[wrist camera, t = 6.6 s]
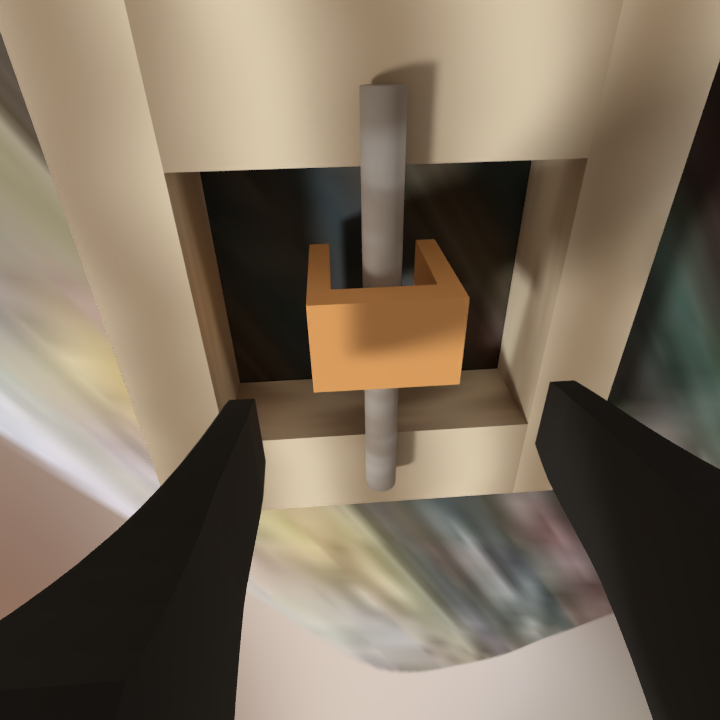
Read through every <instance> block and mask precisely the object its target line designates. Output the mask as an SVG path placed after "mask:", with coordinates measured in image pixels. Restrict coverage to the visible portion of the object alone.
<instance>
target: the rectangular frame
mask: <svg viewBox="0 0 720 720" xmlns="http://www.w3.org/2000/svg"><path fill="white" fill-rule="evenodd" d="M0 32H1V35H2V37H3V40H4V43H5V46H6V49H7V52H8V54H9V57H10V60H11V63H12V66H13V69H14V71H15V74H16V77H17V80H18V83H19V86H20V88H21V91H22V94H23V97H24V100H25V103H26V105H27V108H28V111H29V114H30V117H31V120H32V122H33V125H34V128H35V131H36V134H37V137H38V139H39V142H40V145H41V148H42V151H43V154H44V157H45V159H46V162H47V165H48V168H49V171H50V174H51V176H52V179H53V182H54V185H55V188H56V191H57V193H58V196H59V199H60V202H61V205H62V208H63V210H64V213H65V216H66V219H67V222H68V225H69V227H70V230H71V233H72V236H73V239H74V242H75V244H76V247H77V250H78V253H79V256H80V259H81V261H82V264H83V267H84V270H85V273H86V276H87V278H88V281H89V284H90V287H91V290H92V293H93V295H94V298H95V301H96V304H97V307H98V310H99V312H100V315H101V318H102V321H103V324H104V327H105V329H106V332H107V335H108V338H109V341H110V344H111V346H112V349H113V352H114V355H115V358H116V361H117V363H118V366H119V369H120V372H121V375H122V378H123V380H124V383H125V386H126V389H127V392H128V395H129V397H130V400H131V403H132V406H133V409H134V412H135V414H136V417H137V420H138V423H139V426H140V429H141V432H142V434H143V437H144V440H145V443H146V446H147V449H148V451H149V454H150V457H151V460H152V463H153V466H154V468H155V471H156V474H157V477H158V480H159V483H160V485H162V484H163V483H164V482H165V481H166V480H167V478H168V477H169V476H170V475H171V474H172V473H173V472H174V471H175V469H176V468H177V467H178V466H179V465H180V464H181V462H182V461H183V460H184V459H185V457H186V456H187V455H188V454H189V452H190V451H191V450H192V448H193V447H194V446H195V445H196V443H197V442H198V441H199V440H200V438H201V437H202V436H203V434H204V433H205V432H206V430H207V429H208V428H209V426H210V425H211V423H212V422H213V421H214V419H215V418H216V416H217V415H218V414H219V412H220V411H221V409H222V408H223V407H224V405H225V404H226V403H227V402H228V401H229V400H237V399H255V402H256V407H257V413H258V419H259V425H260V430H261V436H262V442H263V448H264V453H265V459H266V466H265V482H264V496H263V503H262V509H261V510H270V509H285V508H299V507H314V506H328V505H342V504H357V503H371V502H386V501H400V500H414V499H429V498H443V497H458V496H472V495H486V494H501V493H515V492H529V491H544V490H553V489H552V487H551V485H550V483H549V481H548V478H547V476H546V473H545V471H544V468H543V466H542V463H541V460H540V457H539V454H538V451H537V448H536V446H535V441H536V437H537V433H538V429H539V425H540V421H541V416H542V412H543V408H544V404H545V400H546V396H547V392H548V388H549V383H550V382H554V381H571V380H574V381H576V382H578V383H580V384H582V385H583V386H585V387H586V388H588V389H590V390H591V391H593V392H594V393H596V394H597V395H599V396H601V397H602V398H604V399H605V400H608V397H609V394H610V390H611V387H612V384H613V381H614V378H615V375H616V372H617V369H618V366H619V363H620V360H621V357H622V354H623V351H624V348H625V345H626V342H627V339H628V336H629V333H630V330H631V327H632V324H633V321H634V318H635V315H636V312H637V309H638V306H639V303H640V300H641V297H642V294H643V291H644V288H645V285H646V282H647V279H648V275H649V272H650V269H651V266H652V263H653V260H654V257H655V254H656V251H657V248H658V245H659V242H660V239H661V236H662V233H663V230H664V227H665V224H666V221H667V218H668V215H669V212H670V209H671V206H672V203H673V200H674V197H675V194H676V191H677V188H678V185H679V182H680V179H681V176H682V173H683V170H684V167H685V164H686V160H687V157H688V154H689V151H690V148H691V145H692V142H693V139H694V136H695V133H696V130H697V127H698V124H699V121H700V118H701V115H702V112H703V109H704V106H705V103H706V100H707V97H708V94H709V91H710V88H711V85H712V82H713V79H714V76H715V73H716V70H717V67H718V64H719V61H720V0H0ZM521 160H532V161H531V167H530V173H529V179H528V186H527V192H526V198H525V204H524V210H523V216H522V222H521V228H520V234H519V240H518V246H517V252H516V258H515V264H514V270H513V276H512V282H511V288H510V294H509V300H508V307H507V313H506V319H505V325H504V331H503V337H502V343H501V349H500V355H499V361H498V367H497V369H481V370H463V371H461V377H460V384H457V385H439V386H421V387H404V388H386V389H368V390H351V391H333V392H315V393H314V390H313V379H303V380H286V381H268V382H250V383H240V380H239V375H238V370H237V364H236V359H235V354H234V349H233V343H232V338H231V333H230V328H229V322H228V317H227V312H226V307H225V302H224V296H223V291H222V286H221V281H220V275H219V270H218V265H217V260H216V254H215V249H214V244H213V239H212V233H211V228H210V223H209V218H208V213H207V207H206V202H205V197H204V192H203V186H202V181H201V176H200V172H204V171H233V170H262V169H290V168H319V167H348V166H361V213H362V271H363V288H375V287H396V286H402V254H403V221H404V188H405V165H406V164H434V163H463V162H492V161H521Z"/></svg>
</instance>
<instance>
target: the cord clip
mask: <svg viewBox="0 0 720 720" xmlns="http://www.w3.org/2000/svg"><path fill="white" fill-rule="evenodd" d="M469 299H470V298H469V296H468V294H467V293H466V291H465V289H464V288H463V286H462V284H461V283H460V281H459V279H458V278H457V276H456V274H455V273H454V271H453V269H452V268H451V266H450V264H449V263H448V261H447V259H446V258H445V256H444V254H443V252H442V251H441V249H440V247H439V246H438V244H437V242H436V241H435V239H426V240H416V245H415V267H414V286H396V287H375V288H353V289H332V290H331V274H330V257H329V244H310V245H309V262H308V279H307V296H306V312H307V324H308V335H309V346H310V357H311V368H312V379H313V390H314V393H315V392H333V391H351V390H368V389H386V388H404V387H421V386H439V385H457V384H460V377H461V369H462V360H463V351H464V343H465V334H466V325H467V317H468V308H469Z"/></svg>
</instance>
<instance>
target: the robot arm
mask: <svg viewBox="0 0 720 720" xmlns="http://www.w3.org/2000/svg"><path fill="white" fill-rule="evenodd" d="M535 446H536V448H537V451H538V454H539V457H540V460H541V463H542V466H543V468H544V471H545V473H546V476H547V478H548V481H549V483H550V485H551V487H552V489H553V491H554V492H555V494H556V496H557V498H558V500H559V502H560V504H561V506H562V508H563V510H564V511H565V513H566V515H567V517H568V519H569V521H570V523H571V524H572V526H573V528H574V530H575V532H576V534H577V536H578V537H579V539H580V541H581V543H582V545H583V547H584V549H585V550H586V552H587V554H588V556H589V558H590V560H591V562H592V564H593V566H594V568H595V570H596V572H597V574H598V576H599V578H600V580H601V583H602V585H603V588H604V590H605V593H606V595H607V597H608V600H609V602H610V605H611V607H612V609H613V612H614V614H615V617H616V619H617V622H618V624H619V627H620V630H621V632H622V635H623V637H624V640H625V643H626V645H627V648H628V650H629V653H630V655H631V658H632V661H633V664H634V666H635V669H636V672H637V675H638V678H639V681H640V684H641V686H642V689H643V692H644V695H645V697H646V701H647V703H648V706H649V709H650V712H651V715H652V718H653V720H720V469H718V468H716V467H714V466H713V465H711V464H709V463H707V462H705V461H703V460H702V459H700V458H698V457H696V456H695V455H693V454H691V453H689V452H688V451H686V450H684V449H683V448H681V447H679V446H677V445H676V444H674V443H672V442H671V441H669V440H667V439H666V438H664V437H662V436H661V435H659V434H658V433H656V432H654V431H653V430H651V429H650V428H648V427H646V426H645V425H643V424H642V423H640V422H639V421H637V420H636V419H634V418H632V417H631V416H629V415H628V414H626V413H625V412H623V411H622V410H620V409H619V408H617V407H616V406H614V405H613V404H611V403H610V402H608V401H607V400H605V399H604V398H602V397H601V396H599V395H597V394H596V393H594V392H593V391H591V390H590V389H588V388H586V387H585V386H583V385H582V384H580V383H578V382H576V381H574V380H571V381H554V382H550V383H549V388H548V392H547V396H546V400H545V404H544V408H543V412H542V416H541V421H540V425H539V429H538V433H537V437H536V441H535ZM265 466H266V459H265V453H264V448H263V442H262V436H261V430H260V425H259V419H258V413H257V407H256V402H255V399H237V400H229V401H228V402H227V403H226V404H225V405H224V407H223V408H222V409H221V411H220V412H219V414H218V415H217V416H216V418H215V419H214V421H213V422H212V423H211V425H210V426H209V428H208V429H207V430H206V432H205V433H204V434H203V436H202V437H201V438H200V440H199V441H198V442H197V443H196V445H195V446H194V447H193V448H192V450H191V451H190V452H189V454H188V455H187V456H186V457H185V459H184V460H183V461H182V462H181V464H180V465H179V466H178V467H177V468H176V469H175V471H174V472H173V473H172V474H171V475H170V476H169V477H168V478H167V480H166V481H165V482H164V483H163V484H162V485H161V486H160V488H159V489H158V490H157V491H156V492H155V493H154V494H153V495H152V496H151V497H150V498H149V499H148V500H147V501H146V503H145V504H144V505H143V506H142V507H141V508H140V509H139V510H138V511H137V512H136V513H135V514H134V515H133V516H131V517H130V518H129V519H128V520H127V521H126V522H125V523H124V524H123V525H122V526H121V527H120V528H119V529H118V530H117V531H116V532H114V533H113V534H112V535H111V536H110V537H109V538H108V539H107V540H105V541H104V542H103V543H102V544H101V545H99V546H98V547H97V548H96V549H95V550H94V551H92V552H91V553H90V554H89V555H88V556H86V557H85V558H84V559H83V560H82V561H81V562H79V563H78V564H77V565H76V566H74V567H73V568H72V569H70V570H69V571H68V572H67V573H65V574H64V575H63V576H61V577H60V578H59V579H58V580H56V581H55V582H54V583H52V584H51V585H50V586H48V587H47V588H45V589H44V590H43V591H41V592H40V593H39V594H37V595H36V596H34V597H33V598H32V599H30V600H29V601H28V602H26V603H25V604H24V605H22V606H20V607H19V608H18V609H16V610H15V611H13V612H12V613H10V614H9V615H7V616H6V617H4V618H3V619H1V620H0V720H234V716H235V702H236V689H237V676H238V664H239V652H240V640H241V630H242V620H243V619H242V618H243V609H244V601H245V594H246V588H247V582H248V577H249V572H250V567H251V561H252V556H253V551H254V546H255V540H256V535H257V530H258V525H259V519H260V514H261V509H262V503H263V496H264V482H265Z"/></svg>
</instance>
